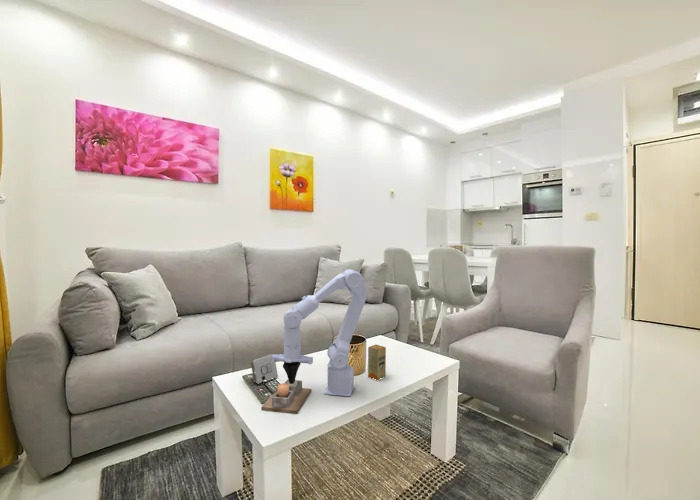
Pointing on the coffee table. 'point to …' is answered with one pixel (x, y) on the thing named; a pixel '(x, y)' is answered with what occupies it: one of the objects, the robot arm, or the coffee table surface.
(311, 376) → the coffee table surface
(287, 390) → the plug terracotta
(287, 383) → the plug cream
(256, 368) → the electrical switch
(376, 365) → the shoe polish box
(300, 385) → the panel
